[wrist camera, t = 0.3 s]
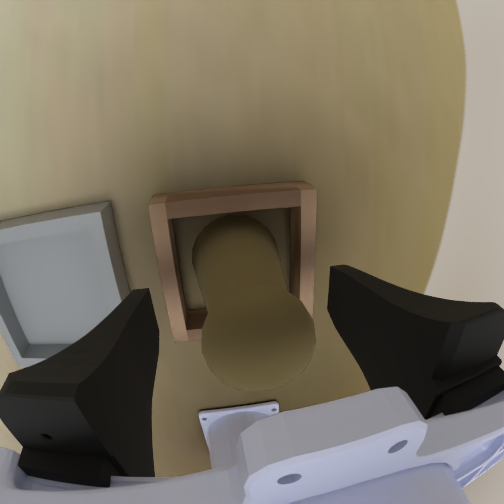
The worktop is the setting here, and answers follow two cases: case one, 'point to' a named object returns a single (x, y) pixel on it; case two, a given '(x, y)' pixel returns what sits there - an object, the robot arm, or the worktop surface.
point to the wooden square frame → (226, 201)
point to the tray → (58, 278)
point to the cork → (249, 307)
